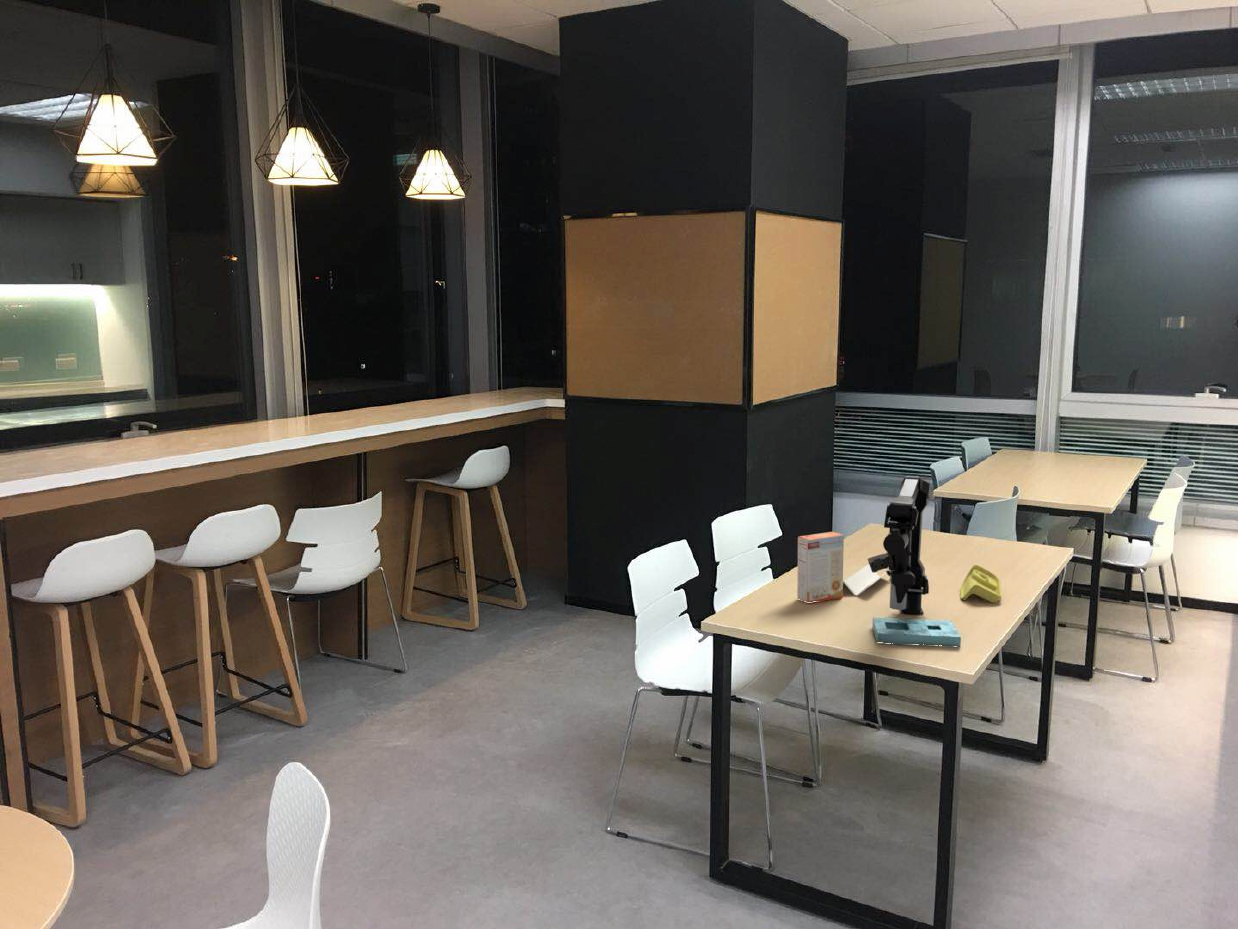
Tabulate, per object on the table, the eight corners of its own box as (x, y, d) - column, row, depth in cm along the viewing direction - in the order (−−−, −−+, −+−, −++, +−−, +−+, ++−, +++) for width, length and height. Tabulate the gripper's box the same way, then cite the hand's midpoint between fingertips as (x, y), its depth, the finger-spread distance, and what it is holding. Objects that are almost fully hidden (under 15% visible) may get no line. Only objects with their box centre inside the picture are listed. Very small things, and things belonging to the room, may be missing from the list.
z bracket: (843, 607, 315) (830, 592, 316) (867, 588, 336) (855, 574, 337) (870, 585, 309) (856, 570, 310) (893, 567, 330) (881, 553, 331)
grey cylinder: (888, 604, 275) (889, 577, 274) (904, 605, 274) (906, 577, 273) (890, 609, 271) (891, 581, 269) (906, 610, 270) (908, 582, 269)
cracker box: (831, 593, 315) (833, 530, 311) (843, 598, 309) (845, 534, 306) (795, 599, 309) (797, 535, 306) (807, 604, 303) (808, 539, 300)
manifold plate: (872, 627, 282) (872, 617, 281) (951, 630, 278) (952, 620, 278) (877, 643, 268) (877, 633, 267) (960, 647, 264) (960, 637, 264)
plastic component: (1001, 597, 301) (971, 582, 303) (989, 616, 304) (959, 601, 306) (999, 576, 320) (971, 561, 322) (988, 594, 322) (960, 579, 324)
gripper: (867, 537, 280) (865, 589, 283) (873, 553, 262) (871, 609, 264) (907, 538, 278) (905, 591, 281) (916, 555, 260) (914, 611, 263)
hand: (898, 600), depth 272 cm, fingers closed on grey cylinder, 4 cm apart
